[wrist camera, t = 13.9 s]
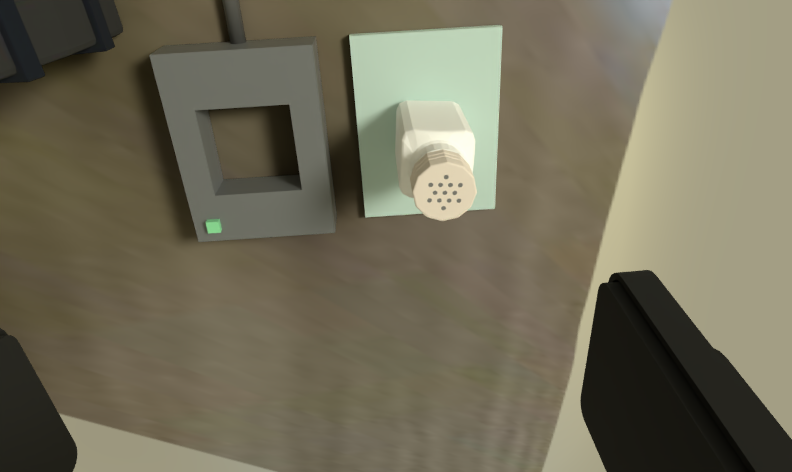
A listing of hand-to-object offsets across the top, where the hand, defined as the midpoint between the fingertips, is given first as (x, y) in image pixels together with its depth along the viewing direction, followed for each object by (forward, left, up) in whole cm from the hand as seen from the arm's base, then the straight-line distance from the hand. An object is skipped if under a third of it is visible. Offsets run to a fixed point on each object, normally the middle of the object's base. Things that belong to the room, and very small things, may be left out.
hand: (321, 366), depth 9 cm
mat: (+6, +4, -28) cm, 29 cm away
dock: (+3, -7, -28) cm, 29 cm away
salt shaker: (+6, +4, -27) cm, 28 cm away
